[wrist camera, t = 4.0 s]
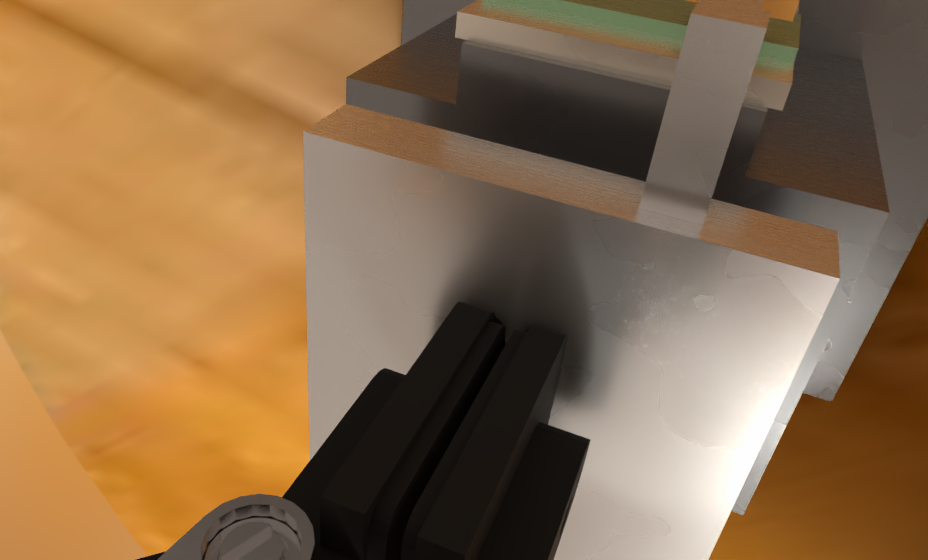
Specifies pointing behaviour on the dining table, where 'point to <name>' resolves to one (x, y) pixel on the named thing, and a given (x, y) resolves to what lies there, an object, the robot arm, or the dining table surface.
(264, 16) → the dining table surface
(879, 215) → the tester
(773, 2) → the indicator
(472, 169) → the grey flanged block
